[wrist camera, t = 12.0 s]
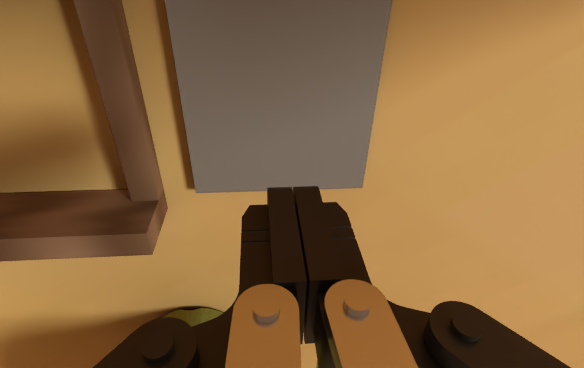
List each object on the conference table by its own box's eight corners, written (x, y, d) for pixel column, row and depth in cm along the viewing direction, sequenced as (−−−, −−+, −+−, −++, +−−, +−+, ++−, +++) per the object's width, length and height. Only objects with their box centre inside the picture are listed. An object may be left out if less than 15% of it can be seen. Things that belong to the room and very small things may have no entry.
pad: (390, -20, 16) (395, -18, 16) (359, 182, 22) (362, 187, 22) (164, -23, 15) (160, -22, 15) (197, 187, 22) (195, 193, 21)
